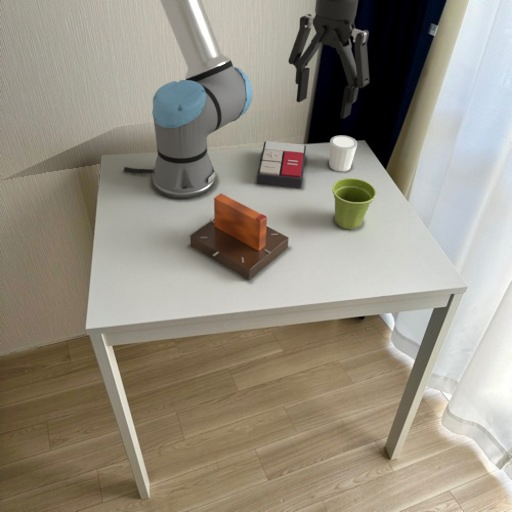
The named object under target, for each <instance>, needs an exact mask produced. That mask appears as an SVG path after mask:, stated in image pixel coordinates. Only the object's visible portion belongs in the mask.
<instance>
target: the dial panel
mask: <svg viewBox="0 0 512 512" xmlns="http://www.w3.org/2000/svg"><path fill="white" fill-rule="evenodd" d="M189 239H190V240H189V241H190V247H192V248H193V249H195V250H197V251H198V252H199V253H202V254H204V255H205V256H207V257H208V258H210V259H212V260H213V261H215V262H217V263H219V264H220V265H222V266H223V267H225V268H227V269H229V270H230V271H232V272H233V273H235V274H237V275H239V276H240V277H241V278H244V279H245V280H247V281H251V280H252V279H253V278H255V276H256V275H258V274H259V273H260V272H261V271H263V270H264V269H265V268H267V266H269V265H270V264H271V263H272V262H273V261H275V260H276V259H277V258H278V257H280V255H282V254H283V253H284V252H285V251H286V250H287V249H288V247H289V239H290V237H289V236H287V235H285V234H283V233H281V232H279V231H277V230H276V229H273V228H271V227H269V226H267V227H266V243H265V247H263V248H262V249H261V250H260V251H258V250H256V249H254V248H252V247H250V246H249V245H247V244H245V243H243V242H241V241H240V240H238V239H236V238H234V237H232V236H231V235H229V234H227V233H225V232H223V231H222V230H220V229H218V228H216V227H215V218H213V219H210V220H209V222H206V224H204V225H202V226H201V227H200V228H199V229H197V230H196V231H193V233H191V234H190V235H189Z"/></svg>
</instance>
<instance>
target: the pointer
mask: <svg viewBox="0 0 512 512" xmlns="http://www.w3.org/2000/svg"><path fill="white" fill-rule="evenodd" d="M213 203H214V204H213V211H214V212H213V213H214V218H215V227H216V228H218V229H220V230H222V231H223V232H225V233H227V234H229V235H231V236H232V237H234V238H236V239H238V240H240V241H241V242H243V243H245V244H247V245H249V246H250V247H252V248H254V249H256V250H258V251H260V250H261V249H262V248H263V247H265V243H266V227H267V225H268V216H267V215H265V214H263V213H260V212H258V211H257V210H255V209H252V208H251V207H249V206H247V205H245V204H242V203H241V202H239V201H237V200H235V199H233V198H231V197H229V196H227V195H225V194H223V193H219V194H218V195H216V196H214V197H213ZM214 218H213V219H214Z"/></svg>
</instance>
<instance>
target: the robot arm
mask: <svg viewBox="0 0 512 512" xmlns="http://www.w3.org/2000/svg"><path fill="white" fill-rule="evenodd" d="M159 1H160V4H161V6H162V8H163V10H164V13H165V16H166V17H167V21H168V23H169V25H170V28H171V30H172V32H173V35H174V37H175V40H176V43H177V45H178V48H179V50H180V52H181V55H182V57H183V59H184V61H185V64H186V67H187V71H186V74H185V76H184V78H185V79H180V80H179V81H177V80H174V81H170V82H167V83H165V84H164V85H162V86H160V87H159V88H158V89H157V90H156V91H155V93H154V95H153V96H152V118H153V124H154V125H153V126H154V132H155V141H156V152H157V156H156V159H155V164H154V168H135V167H134V168H133V167H128V166H124V167H123V170H124V172H128V173H137V174H138V173H139V174H151V177H152V185H153V187H154V189H155V190H156V191H157V192H158V193H159V194H161V195H163V196H165V197H168V198H172V199H179V200H187V199H194V198H198V197H201V196H204V195H205V194H207V193H209V192H210V191H212V189H214V187H215V185H216V170H215V169H214V166H213V163H212V160H211V157H210V156H209V153H208V136H209V135H211V134H213V133H215V132H216V131H218V130H219V129H221V128H223V127H225V126H226V125H228V124H229V123H232V122H235V121H237V120H238V119H239V118H240V117H242V116H243V115H245V113H247V111H248V110H249V109H250V106H251V104H252V101H253V88H252V83H251V81H250V78H249V77H248V75H247V74H246V73H245V72H244V71H243V70H242V69H241V68H239V67H237V66H234V65H233V62H232V60H231V58H230V57H229V56H227V55H224V54H223V53H222V51H221V49H220V46H219V43H218V40H217V38H216V35H215V32H214V30H213V26H212V25H211V22H210V19H209V17H208V14H207V11H206V8H205V6H204V3H203V2H202V0H159ZM358 3H359V0H315V5H314V6H315V7H314V13H315V16H312V14H311V13H307V14H305V15H302V16H300V17H299V29H298V32H297V34H296V37H295V40H294V42H293V46H292V49H291V52H290V53H289V54H290V55H289V57H288V64H289V65H293V66H294V67H295V78H294V79H295V81H294V82H295V85H297V91H296V103H301V102H303V101H305V100H306V99H307V98H308V89H309V82H310V81H309V80H310V71H311V69H310V67H307V66H308V65H309V63H310V62H311V60H312V59H313V58H314V56H315V54H316V53H317V52H318V50H319V49H320V48H321V46H322V45H324V46H329V47H331V48H333V49H335V50H336V53H337V54H338V55H339V59H340V61H341V65H342V68H343V72H344V75H345V79H346V81H347V85H346V86H344V88H343V89H344V90H343V96H342V103H341V109H340V114H339V115H340V116H339V118H340V119H342V120H344V119H346V118H347V117H349V116H350V115H351V112H352V106H353V104H354V103H355V102H356V101H357V99H358V93H359V89H363V88H364V87H366V86H367V85H368V84H370V71H369V70H370V69H369V58H368V57H369V55H368V40H369V35H370V32H369V30H368V29H364V30H361V29H358V28H356V26H355V19H356V16H357V10H358V5H359V4H358ZM312 28H313V29H314V30H315V34H314V36H313V37H312V39H311V41H310V43H309V45H308V46H307V47H306V44H307V42H308V38H309V36H310V33H311V30H312ZM351 38H353V39H352V42H353V43H354V47H353V45H352V42H351ZM305 47H306V49H305ZM352 47H353V48H354V54H353V51H352ZM304 49H305V51H304Z"/></svg>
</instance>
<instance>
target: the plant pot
mask: <svg viewBox="0 0 512 512" xmlns="http://www.w3.org/2000/svg"><path fill="white" fill-rule="evenodd" d="M331 190H332V194H333V198H334V222H335V223H336V224H337V225H338V226H339V227H340V228H342V229H345V230H354V229H356V228H360V227H361V226H362V225H363V221H364V219H365V216H366V214H367V211H368V209H369V207H370V204H371V203H372V202H373V201H374V200H375V199H376V196H377V190H376V188H375V187H374V186H373V184H372V183H370V182H368V181H367V180H364V179H360V178H355V177H347V178H342V179H339V180H337V181H335V182H334V184H332V189H331Z"/></svg>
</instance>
